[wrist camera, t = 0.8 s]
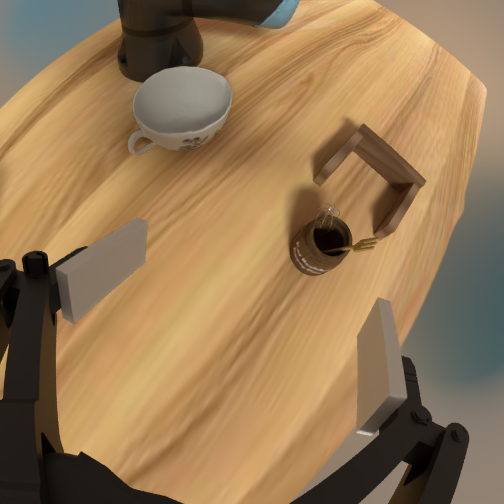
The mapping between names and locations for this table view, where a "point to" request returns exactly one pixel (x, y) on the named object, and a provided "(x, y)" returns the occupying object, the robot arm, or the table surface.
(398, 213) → the walnut corral
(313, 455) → the table surface
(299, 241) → the utensil holder
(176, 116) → the teacup
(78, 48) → the table surface
